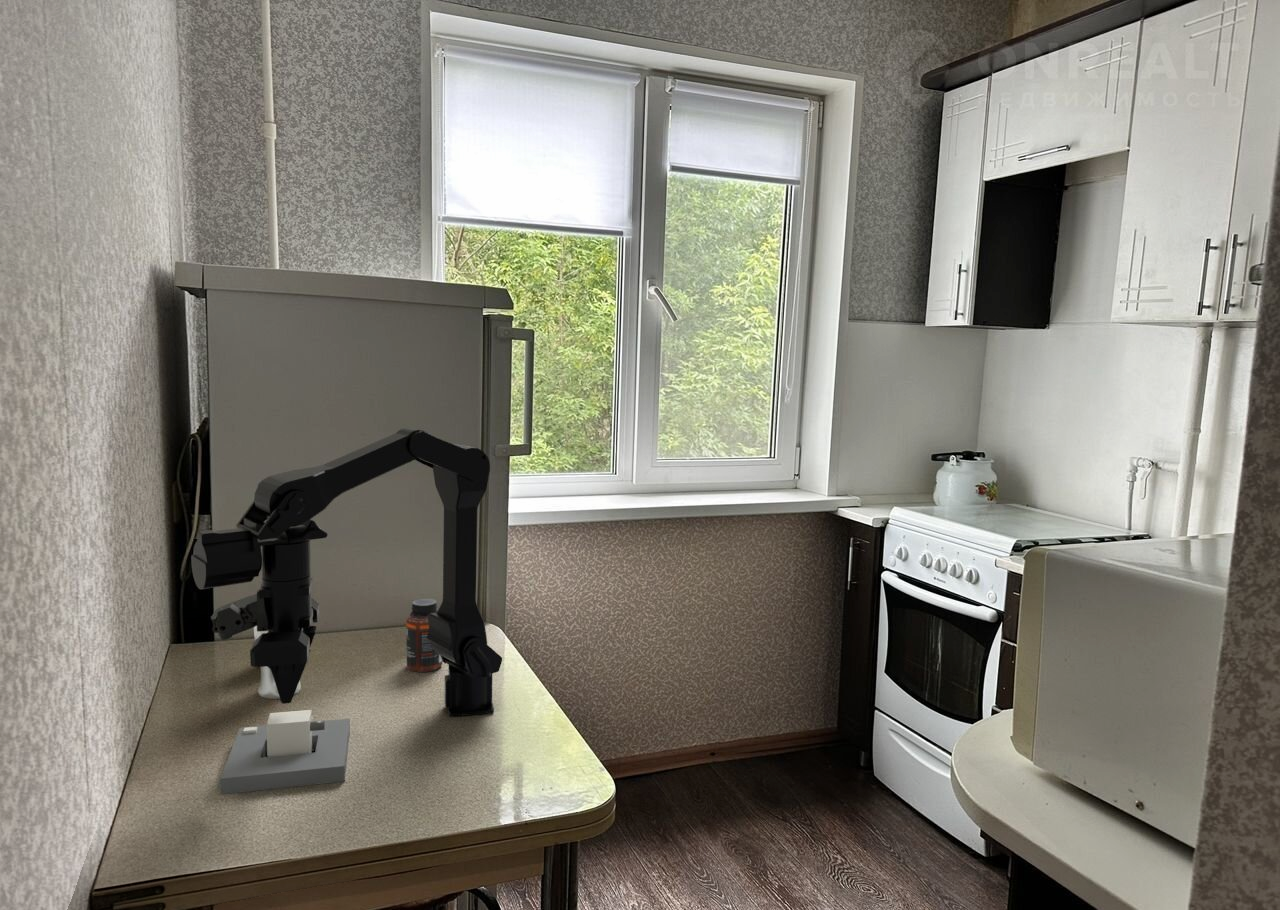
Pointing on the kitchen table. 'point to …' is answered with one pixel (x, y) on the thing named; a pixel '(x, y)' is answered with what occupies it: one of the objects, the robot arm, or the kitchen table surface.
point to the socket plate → (286, 760)
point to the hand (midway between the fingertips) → (288, 694)
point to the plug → (291, 732)
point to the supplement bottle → (421, 637)
